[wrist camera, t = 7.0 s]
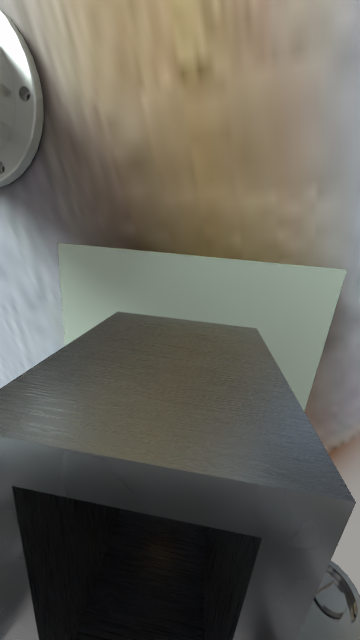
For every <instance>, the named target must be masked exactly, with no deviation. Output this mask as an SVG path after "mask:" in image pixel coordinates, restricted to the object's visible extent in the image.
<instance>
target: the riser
mask: <svg viewBox="0 0 360 640" xmlns="http://www.w3.org/2000/svg"><path fill="white" fill-rule="evenodd" d="M57 247H58V260H59V274H60V287H61V301H62V314H63V327H64V341H65V346H66V345H67V344H69V343H70V342H72V341H73V340H75V339H77V338H78V337H80V336H81V335H83V334H84V333H86V332H87V331H89V330H90V329H92V328H93V327H95V326H96V325H98V324H99V323H101V322H102V321H104V320H105V319H107V318H108V317H110V316H111V315H113V314H114V313H116V312H117V311H118V312H126V313H135V314H143V315H151V316H159V317H168V318H176V319H184V320H192V321H201V322H209V323H217V324H225V325H233V326H242V327H250V328H257V330H258V331H259V333H260V335H261V337H262V338H263V340H264V342H265V344H266V345H267V347H268V349H269V351H270V352H271V354H272V356H273V358H274V359H275V361H276V363H277V365H278V366H279V368H280V370H281V372H282V374H283V375H284V377H285V379H286V381H287V382H288V384H289V386H290V388H291V389H292V391H293V393H294V395H295V396H296V398H297V400H298V402H299V403H300V405H301V407H302V409H303V410H304V411H305V408H306V404H307V401H308V398H309V394H310V391H311V388H312V384H313V381H314V378H315V374H316V371H317V368H318V365H319V361H320V358H321V355H322V351H323V348H324V345H325V341H326V338H327V335H328V331H329V328H330V325H331V321H332V318H333V315H334V312H335V308H336V305H337V302H338V298H339V295H340V292H341V288H342V285H343V282H344V278H345V275H346V272H347V270H342V269H335V268H324V267H313V266H302V265H292V264H281V263H270V262H260V261H249V260H238V259H227V258H217V257H206V256H195V255H184V254H174V253H163V252H152V251H141V250H131V249H120V248H109V247H98V246H88V245H77V244H63V243H57Z"/></svg>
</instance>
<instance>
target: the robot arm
mask: <svg viewBox="0 0 360 640" xmlns="http://www.w3.org/2000/svg"><path fill="white" fill-rule="evenodd" d="M43 118H44V111H43V95H42V89H41V84H40V79H39V75H38V72H37V69H36V66H35V63H34V60H33V57H32V55H31V53H30V51H29V49H28V47H27V45H26V43H25V41H24V39H23V37H22V35H21V34H20V33H19V31H18V30H17V28H16V27H15V25H14V24H13V23H12V21H11V20H10V19H9V18H8V16H7V15H6V14H5V13H4V12H3V11H2V10H1V9H0V188H1V187H3V186H5V185H8V184H10V183H12V182H13V181H14V180H16V179H17V178H18V177H20V176H21V175H22V174H23V173H24V171H25V170H26V169H27V168H28V166H29V165H30V164H31V162H32V160H33V158H34V156H35V154H36V152H37V149H38V146H39V142H40V139H41V135H42V127H43ZM0 640H1V637H0ZM296 640H360V595H359V593H358V591H357V589H356V587H355V585H354V584H353V583H352V581H351V580H350V578H349V577H348V575H347V574H346V573H345V572H344V571H343V570H342V569H341V568H340V567H339V566H338V565H336V564H335V563H334V562H332V561H330V563H329V565H328V567H327V570H326V572H325V574H324V577H323V579H322V581H321V584H320V586H319V588H318V590H317V593H316V595H315V597H314V600H313V602H312V604H311V606H310V609H309V611H308V613H307V616H306V618H305V620H304V622H303V625H302V627H301V629H300V632H299V634H298V636H297V638H296Z"/></svg>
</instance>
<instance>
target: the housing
mask: <svg viewBox="0 0 360 640" xmlns="http://www.w3.org/2000/svg"><path fill="white" fill-rule="evenodd" d="M355 503H356V502H355V500H354V498H353V497H352V495H351V493H350V492H349V490H348V488H347V486H346V484H345V483H344V481H343V479H342V477H341V476H340V474H339V472H338V470H337V469H336V467H335V465H334V463H333V462H332V460H331V458H330V456H329V454H328V453H327V451H326V449H325V447H324V446H323V444H322V442H321V440H320V439H319V437H318V435H317V433H316V432H315V430H314V428H313V426H312V425H311V423H310V421H309V419H308V417H307V416H306V414H305V412H304V410H303V409H302V407H301V405H300V403H299V402H298V400H297V398H296V396H295V395H294V393H293V391H292V389H291V388H290V386H289V384H288V382H287V381H286V379H285V377H284V375H283V374H282V372H281V370H280V368H279V366H278V365H277V363H276V361H275V359H274V358H273V356H272V354H271V352H270V351H269V349H268V347H267V345H266V344H265V342H264V340H263V338H262V337H261V335H260V333H259V331H258V330H257V328H250V327H242V326H233V325H225V324H217V323H209V322H201V321H192V320H184V319H176V318H168V317H159V316H151V315H143V314H135V313H126V312H118V311H117V312H116V313H114V314H113V315H111V316H110V317H108V318H107V319H105V320H104V321H102V322H101V323H99V324H98V325H96V326H95V327H93V328H92V329H90V330H89V331H87V332H86V333H84V334H83V335H81V336H80V337H78V338H77V339H75V340H73V341H72V342H70V343H69V344H67V345H66V346H64V347H63V348H61V349H60V350H58V351H57V352H55V353H54V354H52V355H51V356H49V357H48V358H46V359H45V360H43V361H42V362H40V363H39V364H37V365H36V366H34V367H33V368H31V369H29V370H28V371H26V372H25V373H23V374H22V375H20V376H19V377H17V378H16V379H14V380H13V381H11V382H10V383H8V384H7V385H5V386H4V387H2V388H1V389H0V637H1V640H296V638H297V636H298V634H299V632H300V629H301V627H302V625H303V622H304V620H305V618H306V616H307V613H308V611H309V609H310V606H311V604H312V602H313V600H314V597H315V595H316V593H317V590H318V588H319V586H320V584H321V581H322V579H323V577H324V574H325V572H326V570H327V567H328V565H329V563H330V561H331V558H332V556H333V554H334V551H335V549H336V546H337V545H338V542H339V540H340V538H341V535H342V533H343V531H344V528H345V526H346V524H347V522H348V519H349V517H350V515H351V513H352V510H353V508H354V505H355Z"/></svg>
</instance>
